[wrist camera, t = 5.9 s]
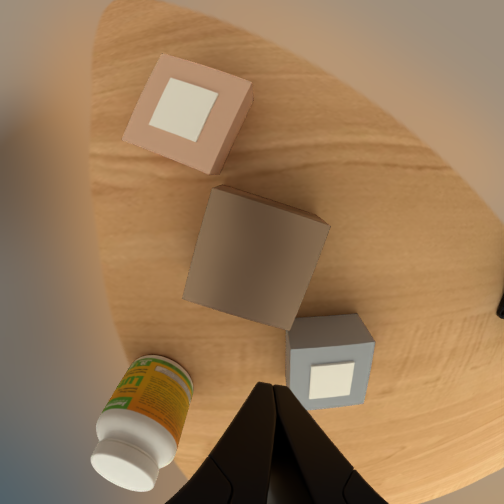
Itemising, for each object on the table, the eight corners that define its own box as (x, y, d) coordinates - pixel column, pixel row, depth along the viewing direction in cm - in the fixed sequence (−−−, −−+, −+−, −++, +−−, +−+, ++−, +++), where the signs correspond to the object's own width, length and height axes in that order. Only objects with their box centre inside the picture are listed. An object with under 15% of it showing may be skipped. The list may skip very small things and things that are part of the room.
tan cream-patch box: (253, 100, 17) (252, 81, 13) (219, 174, 18) (208, 174, 14) (180, 74, 16) (160, 51, 12) (148, 145, 18) (119, 139, 13)
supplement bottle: (152, 340, 21) (97, 434, 11) (208, 383, 22) (184, 486, 12) (119, 376, 22) (68, 459, 13) (170, 413, 23) (139, 503, 13)
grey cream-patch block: (356, 312, 20) (376, 343, 16) (349, 370, 21) (364, 405, 17) (285, 317, 20) (290, 351, 16) (285, 375, 21) (289, 413, 17)
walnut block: (316, 214, 18) (330, 226, 15) (284, 301, 20) (289, 330, 16) (222, 184, 18) (212, 187, 14) (196, 274, 20) (181, 299, 16)
